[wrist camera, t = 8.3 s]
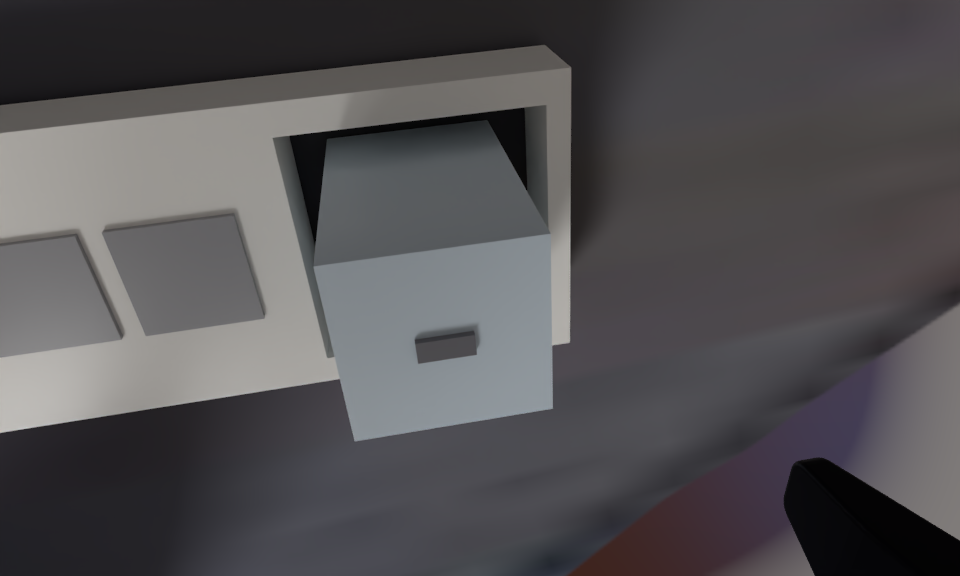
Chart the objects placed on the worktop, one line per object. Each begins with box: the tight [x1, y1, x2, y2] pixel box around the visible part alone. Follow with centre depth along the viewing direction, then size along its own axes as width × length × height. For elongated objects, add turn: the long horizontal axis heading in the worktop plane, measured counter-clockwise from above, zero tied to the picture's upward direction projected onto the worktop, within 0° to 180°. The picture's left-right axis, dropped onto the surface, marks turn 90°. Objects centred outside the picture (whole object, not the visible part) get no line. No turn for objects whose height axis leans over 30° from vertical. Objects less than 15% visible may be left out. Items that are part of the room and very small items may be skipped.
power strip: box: [0, 45, 571, 433], centre depth 17 cm, size 16×8×3 cm, turn 94°
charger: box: [313, 120, 553, 441], centre depth 16 cm, size 4×4×7 cm
